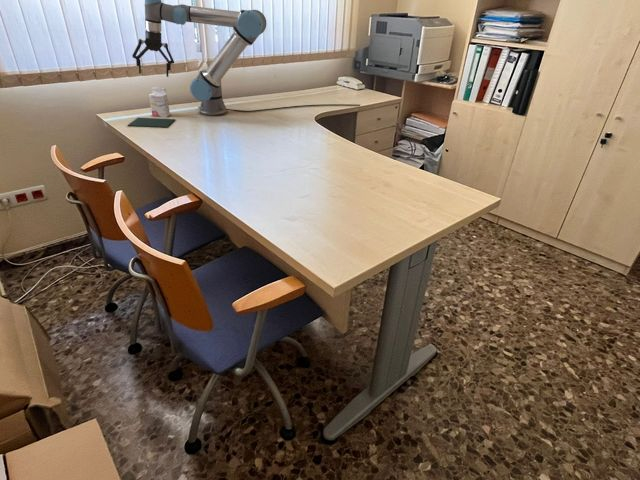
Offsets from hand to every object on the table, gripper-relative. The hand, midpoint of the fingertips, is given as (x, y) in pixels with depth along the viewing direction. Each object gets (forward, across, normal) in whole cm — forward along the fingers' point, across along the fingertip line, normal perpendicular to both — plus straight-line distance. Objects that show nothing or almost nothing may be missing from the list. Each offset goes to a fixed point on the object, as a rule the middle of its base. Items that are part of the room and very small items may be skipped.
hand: (153, 74), depth 211 cm
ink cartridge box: (+22, -4, +1) cm, 22 cm away
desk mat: (+21, +2, +15) cm, 26 cm away
